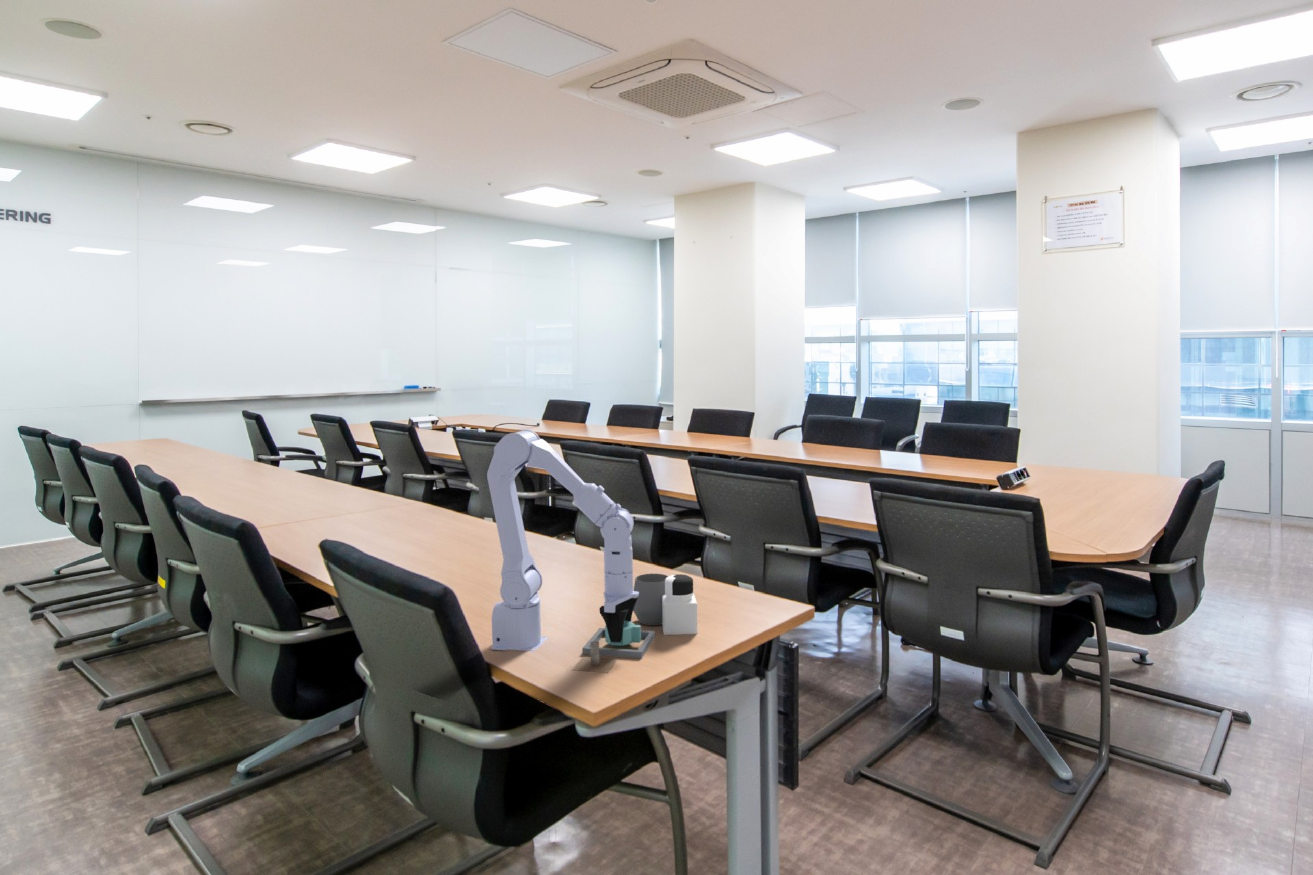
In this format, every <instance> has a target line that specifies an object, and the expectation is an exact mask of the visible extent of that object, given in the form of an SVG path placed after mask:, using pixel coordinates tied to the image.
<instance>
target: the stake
mask: <svg viewBox="0 0 1313 875" xmlns="http://www.w3.org/2000/svg"><path fill="white" fill-rule="evenodd" d="M599 647H600V642H599V641H593V642H591V655H590V656H589V655H586V656H585V655H583V656H582V657H581V658H580V659H579V660H578V662H577V663H576V664H575V665H574V667H572V669H571V671H577V672H586V673H587V672H588V673H590V672H591V673H601V674H602V673H604V674H608V673H609V672H610V671H611V669H612V668H613V667H614V666H615V664H616V663H617V661H618V658H616V657H614V658H613V657H602V656H601V657H600V656H599Z"/></svg>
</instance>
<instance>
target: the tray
mask: <svg viewBox="0 0 1313 875" xmlns="http://www.w3.org/2000/svg"><path fill="white" fill-rule="evenodd" d="M603 636H604V637H605V627H599V628H598V629H597V631H596V632H595V633H594V634H593V635H592V636H591V637H590V639H589V640H588V641H587V642H586V643H585V645H584V646H582V648H581V649H582V653H581V654H582V655H583V656H585V655H586V656H591V642H593V641H598V642H599V641H600V640H601V639H602V637H603ZM655 638H656V631H655V630H642V629H641V639H644V640H643V642H642V643H641V645H640V646H639V648H638V649H628V648H627V649H626V648H613V647H611V648H610V647H600V646H599V657H600V656H601V657H602V656H603V657H612V658H613V657H614V658H616V657H617V658H626V659H627V658H628V659H629V658H630V659H631V658H632V659H643V657H644V656H645V654H646V653H647V651H648V649H649V648H650V647H651V644H652V643H653V641H654V640H655Z"/></svg>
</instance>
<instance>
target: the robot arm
mask: <svg viewBox="0 0 1313 875" xmlns="http://www.w3.org/2000/svg"><path fill="white" fill-rule="evenodd" d="M524 466H527V467H530V468H538V469H543V470H545V471H546V472H547V473H548V474H549V475H550V476H551V477H553V479H555V480H556V481H557V482H558V483H560V484H561V486H563V487H564V488H565V489H566V490H567V491H569V493H571V494H572V495H573V496H572V497H573V504H574V506H576V507H577V508H578V509H579V510H580V511H581V512H582V513H583V514H584V515H585V516H586V517H587V518H588V519H589V520H590V521H591V522H592V523H593V524H594V525H595V526H597V527H600V530H599V531H600V535H601V536H602V539H604V540H603V541H604V543H603V544H604V548H603V563H604V565H603V569H604V570H603V571H604V572H603V574H604V592H603V598H604V602H603V605H601V606H600V607H599V609H598V610H599V614H600V616H601V617H602V619H603V620H604V623H605V625H606V626H607V630H608V634H609V638H610V641H611V642H619V643H620V642H621V640H622V636H623V627H624V621H630V622H632V617H633V613H634V611H633V609H634V606H635V604H636V602H637V600H638V596H639V592H637V591H634V574H633V572H634V570H633V569H634V567H633V566H634V564H633V563H634V562H633V560H634V559H633V547H632V544H633V539H632V534H631V533H632V531H633V529H634V523H635V521H634V518H633V516H632V515H631V513H630V511H629V510H628V509H626V508H622V506H621V505H620V503H616V502H615V501H614V500H612V499H611V498H610V497H609V496H608V495H607V494H606V493H605V492H604V491H605V488H604V487H603V486H602V485H596V483H593V482H591V483H589V482H585V481H584V480H583V479H582V478H581V477H580V476H579V475H578V474H577V473H576V471H574V470H573V469H572V467H571V466H569V464H568V463H567V462H566V461H565V460H564V459H563V458H562V457H561V456H560V455H559V454H558V453H557V452H556V451H555V450H554V449H553V448H552V446H551V445H550V444H549V443H548V442H547V441H546V440H544V439H543V438H540V436H539V435H538V433H536V432H535V431H533V430H531V429H521V430H519V431H516V432H510V433H507V434H506V435H504V436H503V437H502V438H501V439H500V440H499V441H498V442H497V443H496V445H494V447H493V455H492V459H491V461H490V464H489V466H488V469H487V473H486V477H487V478H486V479H487V483H488V487H489V493H490V498H491V503H492V507H493V514H494V518H495V523H496V528H497V533H498V539H499V542H500V548H501V552H502V553H501V554H502V557H503V558H502V559H503V562H502V567H501V571H500V576H501V585H500V589H499V594H500V597H501V599H502V601H498V602H496V603H495V605H494V606H493V609H492V613H491V637H492V638H491V639H492V641H491V642H492V645H491V647H490V649H491V650H492V651H506V650H512V651H513V650H514V651H515V650H517V651H530V652H531V651H532V652H535V651H536V650H537V649H539V647H540V646H542V645H543V643H544V642H546V640H547V639H549V637H548V636H544V637H543V636H542V627H541V626H542V625H541V599H540V596H539V594H538V591H540V589H541V587H542V585H543V576H542V574H541V572H540V571H539V569H538V568H537V566H536V563H535V559H534V558H533V556H532V555H531V553H530V552H529V547H528V542H527V537H526V532H525V526H524V520H523V517H522V511H521V510H522V509H521V506H520V501H519V496H518V491H517V486H516V482H515V479H516V477H517V475H518V474H520V472H521V470H523V468H524Z"/></svg>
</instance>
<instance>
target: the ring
mask: <svg viewBox="0 0 1313 875" xmlns="http://www.w3.org/2000/svg"><path fill="white" fill-rule="evenodd" d="M641 625H642V624H641ZM641 625H640V624H635V623H634V622H632V621H631V622H630V621H624V627H623V636H622V640H621V642H620V643H619V642H611V641H610V638H609V634H608V630H607V626H606V624H605V625H604V628H605V636H604V637H605V643H607V644H609V645H611V646H627V645H631V644H633V643H639V644H640V643H641V641H642V638H641V630H642V626H641Z"/></svg>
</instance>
